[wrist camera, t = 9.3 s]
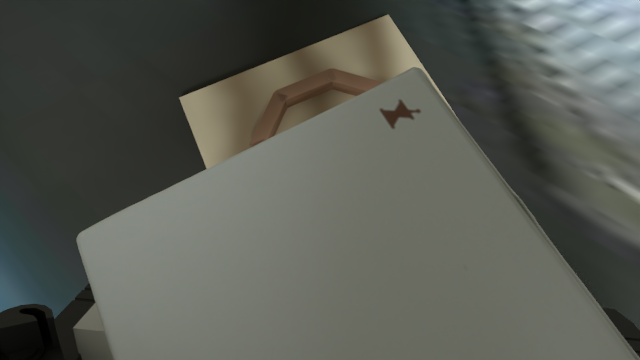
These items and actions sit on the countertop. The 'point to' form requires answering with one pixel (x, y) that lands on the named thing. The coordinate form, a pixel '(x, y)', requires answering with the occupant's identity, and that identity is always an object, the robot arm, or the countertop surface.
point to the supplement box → (344, 251)
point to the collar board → (295, 88)
